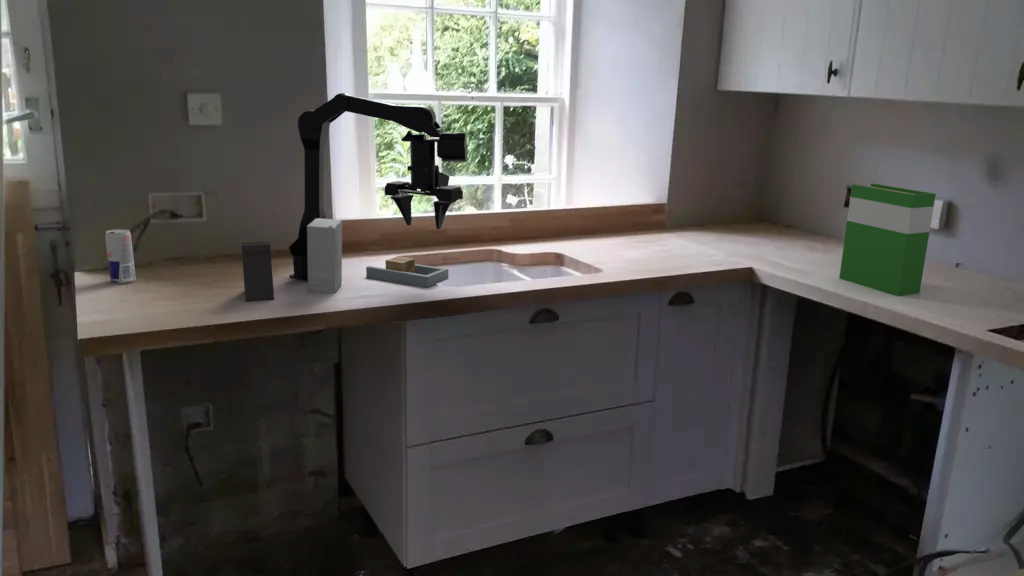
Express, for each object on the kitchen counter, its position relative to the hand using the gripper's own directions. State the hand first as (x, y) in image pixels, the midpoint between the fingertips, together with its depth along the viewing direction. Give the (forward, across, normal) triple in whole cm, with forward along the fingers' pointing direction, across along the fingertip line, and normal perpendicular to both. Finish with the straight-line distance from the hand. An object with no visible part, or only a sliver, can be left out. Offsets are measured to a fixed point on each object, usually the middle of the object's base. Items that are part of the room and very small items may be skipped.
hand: (423, 227), depth 188 cm
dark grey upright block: (+13, +24, +30) cm, 41 cm away
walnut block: (+13, +7, 0) cm, 15 cm away
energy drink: (+13, +59, +38) cm, 71 cm away
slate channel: (+13, +5, 0) cm, 14 cm away
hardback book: (+14, -98, -55) cm, 113 cm away
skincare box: (+13, +15, +18) cm, 27 cm away
